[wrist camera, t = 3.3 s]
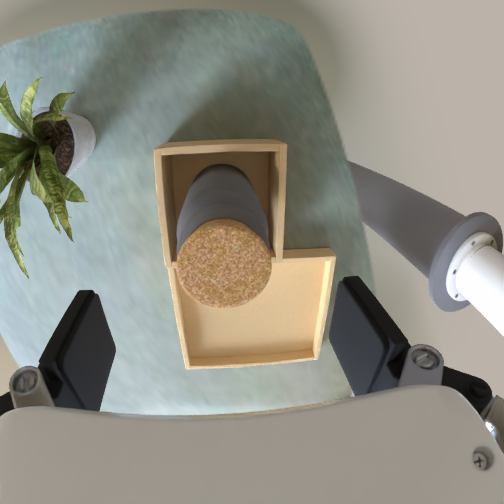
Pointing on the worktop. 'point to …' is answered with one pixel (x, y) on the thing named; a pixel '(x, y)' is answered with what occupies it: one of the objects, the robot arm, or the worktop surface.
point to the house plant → (41, 159)
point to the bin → (221, 152)
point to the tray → (260, 317)
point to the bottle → (223, 239)
